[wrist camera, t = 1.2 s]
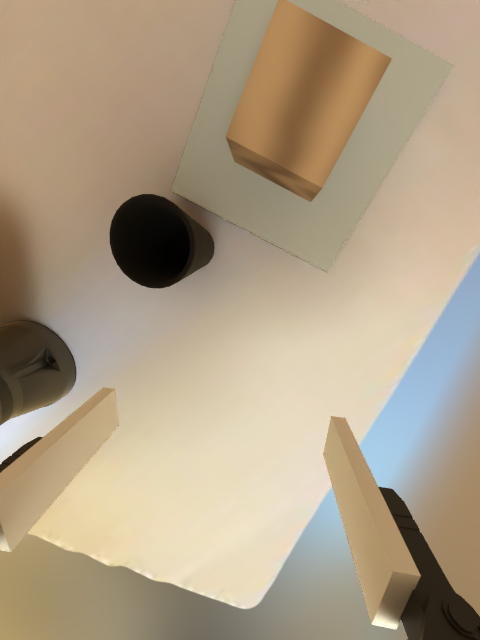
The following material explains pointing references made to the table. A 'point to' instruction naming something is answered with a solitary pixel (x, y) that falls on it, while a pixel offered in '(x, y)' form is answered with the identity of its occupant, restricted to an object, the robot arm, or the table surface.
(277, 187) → the board
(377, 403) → the table surface
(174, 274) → the cup
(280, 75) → the block
